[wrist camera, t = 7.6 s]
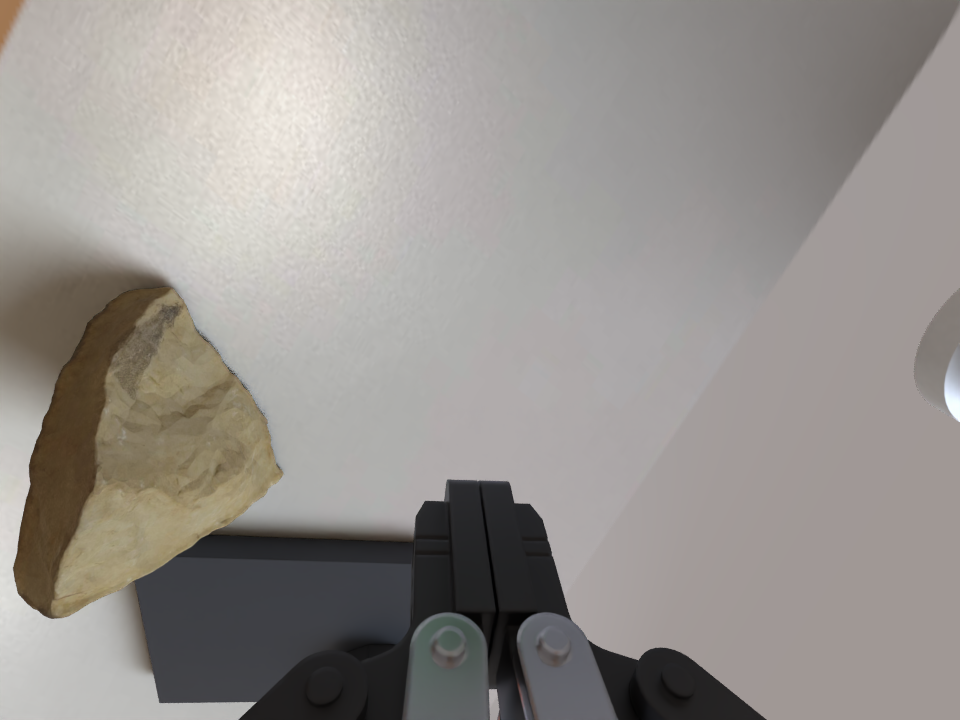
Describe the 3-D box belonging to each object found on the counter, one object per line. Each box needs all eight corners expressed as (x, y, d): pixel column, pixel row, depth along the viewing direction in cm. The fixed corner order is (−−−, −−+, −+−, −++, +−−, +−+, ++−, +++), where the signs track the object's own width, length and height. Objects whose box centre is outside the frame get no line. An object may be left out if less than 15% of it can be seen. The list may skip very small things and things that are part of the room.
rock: (8, 259, 19) (-8, 487, 21) (46, 355, 13) (19, 640, 16) (287, 291, 27) (249, 453, 29) (377, 359, 22) (322, 548, 24)
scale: (441, 543, 30) (443, 588, 28) (419, 677, 36) (419, 726, 33) (143, 532, 28) (112, 580, 25) (170, 678, 33) (146, 731, 31)
